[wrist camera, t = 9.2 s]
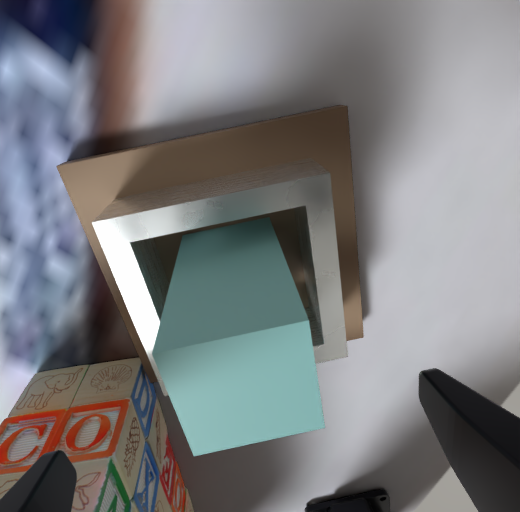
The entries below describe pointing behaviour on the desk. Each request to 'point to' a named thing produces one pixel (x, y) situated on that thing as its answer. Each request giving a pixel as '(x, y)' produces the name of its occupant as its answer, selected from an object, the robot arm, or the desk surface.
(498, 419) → the robot arm
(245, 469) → the desk surface
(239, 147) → the base board
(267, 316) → the teal block
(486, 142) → the desk surface
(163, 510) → the stack of blocks
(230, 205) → the frame
